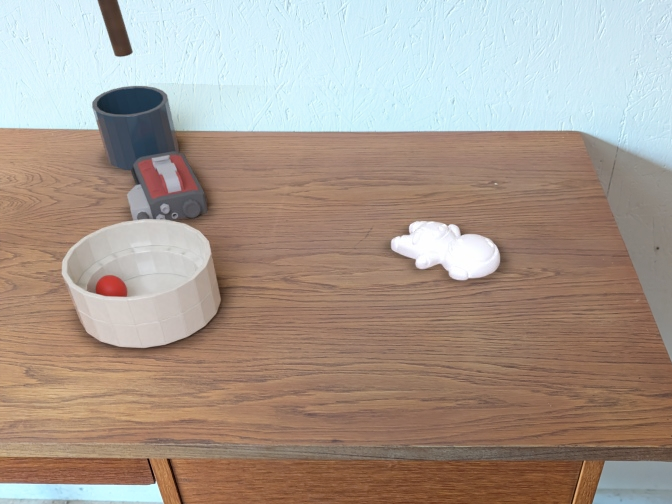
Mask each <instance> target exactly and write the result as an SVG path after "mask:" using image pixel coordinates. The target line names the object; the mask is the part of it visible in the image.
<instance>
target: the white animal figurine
mask: <svg viewBox="0 0 672 504" xmlns="http://www.w3.org/2000/svg"><path fill="white" fill-rule="evenodd" d="M408 232H409V234H403V235H401V236H400V235H398V236H395V237H394V238H392V239H391V241H390V248H391V249H390V250H392V251H394V252H395V253H397V254H399V255H402V256H404V257H406V258H410V259H413V260H415V263H414V265H415V267H416V268H417V269H418V270H425V269H429V268H431V267H435V266H436V265H441V266H442V267H443V268H444V269H445V270H446V271H447V273H448V276H449V277H450V278H451V279H453V280H457V281H467V280H469V279H479V278H483V277H487V276H489V275H491V274H493V273H494V272H496V270H497V269H498V268H499V266H500V264H501V254H500V250H499V248H498V246H497V245H496V244H495V243H494V241H493V240H492V239H491V238H489V237H486V236H483V235H482V234H481V235H480V234H476V233H465V234H462V233H461V229H460V228H459V226H458V225H457V224H453V223H450V224H448V225H447V224H445V223H444V222H438V221H433V220H432V221H425V220H420V221H419V220H417V221H414V222H412V223H410V225H409V226H408ZM461 234H462V235H461Z"/></svg>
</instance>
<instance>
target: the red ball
mask: <svg viewBox="0 0 672 504" xmlns="http://www.w3.org/2000/svg"><path fill="white" fill-rule="evenodd" d="M96 294H99V295H103V296H112V297H127V287H126V285H125V283H124V282H123V281H122V280H121V279H120V278H119V277H117V276H113V275H106V276H104V277H102V278H100V279H99V281H98V282H97V284H96Z"/></svg>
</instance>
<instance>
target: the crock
mask: <svg viewBox="0 0 672 504" xmlns="http://www.w3.org/2000/svg"><path fill="white" fill-rule="evenodd" d="M170 105H171V104H170V100H169V96H168V94H167V93H166V92H165V91H164V90H162V89H160V88H157V87H153V86H147V85H129V86H128V85H127V86H122V87H116V88H112V89H109V90H107V91H104V92H102V93H100V94H99V95H97V96H95V98H94V99H93V101H92V102H91V108H92V112H93V115H94V118H95V122H96V125H97V128H98V132H99V135H100V139H101V142H102V145H103V149H104V152H105V155H106V159H107V161H108V162H109V164H110V165H111V166H113V167H115V168H117V169H121V170H124V171H131V168H132V167H133V164H134V163H135V162H136V160H137V159H138V158H140V157H144V156H150V155H155V154H161V153H166V152H172V151H176V152H178V153H180V146H179V143H178V138H177V133H176V129H175V124H174V120H173V115H172V110H171V106H170Z"/></svg>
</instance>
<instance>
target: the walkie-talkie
mask: <svg viewBox="0 0 672 504" xmlns="http://www.w3.org/2000/svg"><path fill="white" fill-rule="evenodd" d="M130 172H131V175H132V178H133V181H134V183H135V185H134V186H133V187H132V188H131V189H130V190H129V191H128V193H127V194H126V199H127V202H128V205H129V210H130V214H131V218H132V221H134V220H142V219H160V220H170V221H175V220H179V219H183V218H188V219H189V218H191V219H195V218H197V217H199V216H200V215H203V214H207V213H208V210H209V209H208V199H207V195H206V193H205V192H204V189H203V188H202V186H201V183H200V181H199V180H198V178H197V176H196V174H195V172H194V170H193V169H192V166H191V164H190V162H189V161H188V159H187V157H186V155H185V154H183V153H181V152H179V153H178V152H176V151H172V152H166V153H161V154H155V155H150V156H144V157H140V158H138V159H137V160H136V162H135V163H134V164H133V167H132V168H131V170H130Z"/></svg>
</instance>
